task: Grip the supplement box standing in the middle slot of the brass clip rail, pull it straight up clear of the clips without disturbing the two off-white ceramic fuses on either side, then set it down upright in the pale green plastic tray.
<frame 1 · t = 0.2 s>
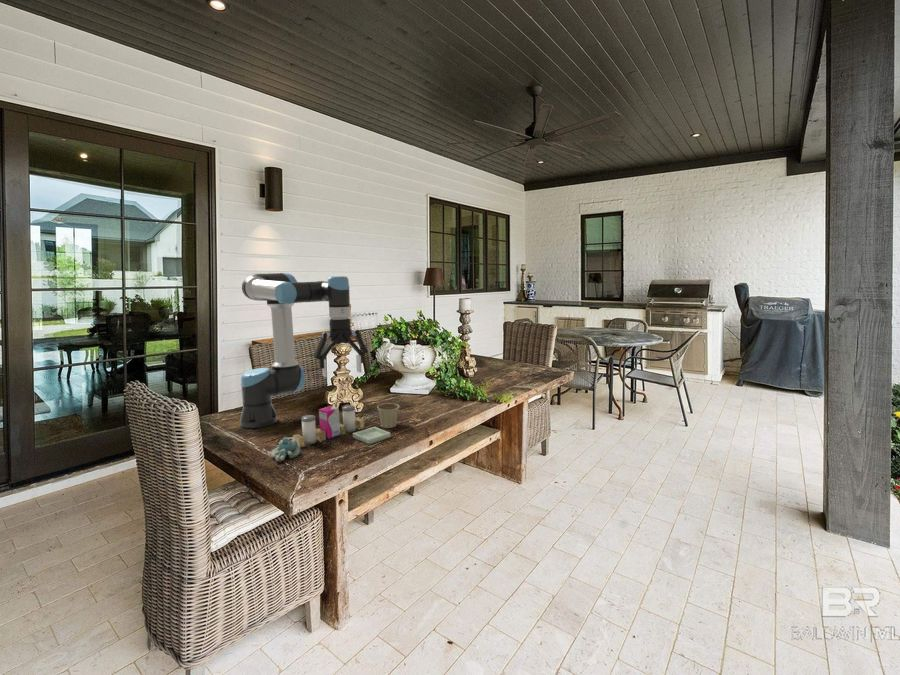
hand: (342, 374, 173), 27 cm above the table, fingers open, 13 cm apart
tray: (371, 437, 182), on the table
stuffed animal: (285, 456, 165), on the table
supplement box: (330, 436, 184), on the table
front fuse: (309, 442, 178), on the table
back fuse: (349, 430, 191), on the table
flower pot: (389, 426, 196), on the table
clip rail: (330, 435, 184), on the table
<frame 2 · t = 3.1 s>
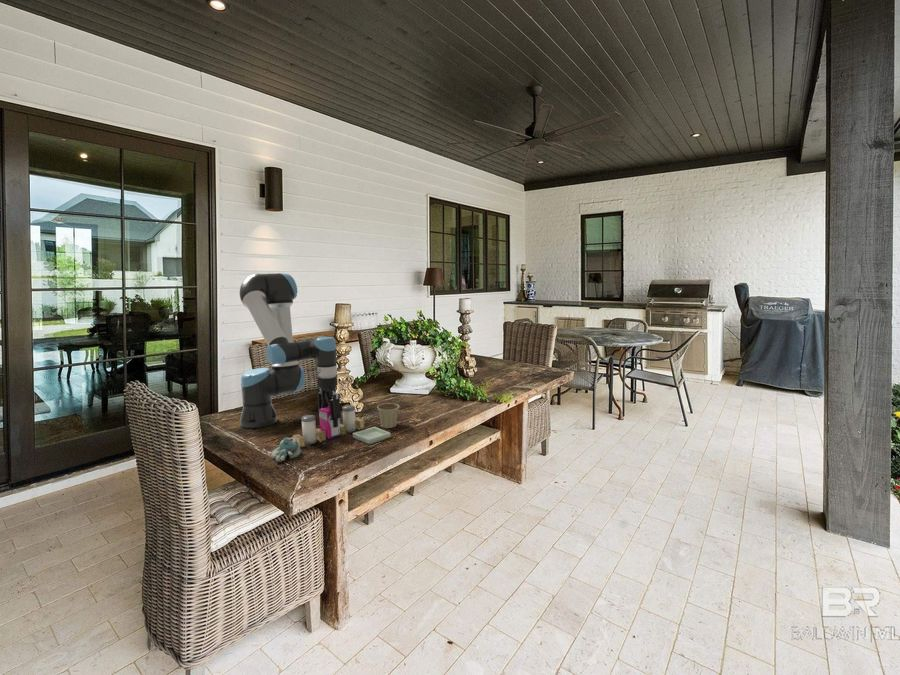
hand: (330, 432, 184), 1 cm above the table, fingers closed on supplement box, 6 cm apart
supplement box: (330, 436, 184), on the table, touching gripper
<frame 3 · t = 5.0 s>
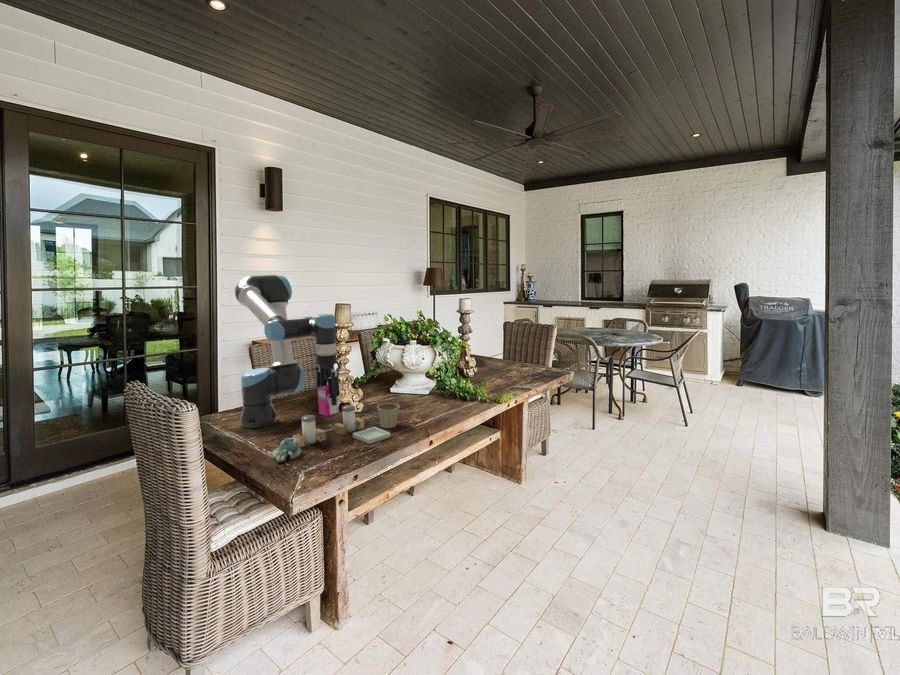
hand: (328, 410, 183), 10 cm above the table, fingers closed on supplement box, 6 cm apart
supplement box: (328, 414, 183), point 9 cm above the table, touching gripper
everything else where it was.
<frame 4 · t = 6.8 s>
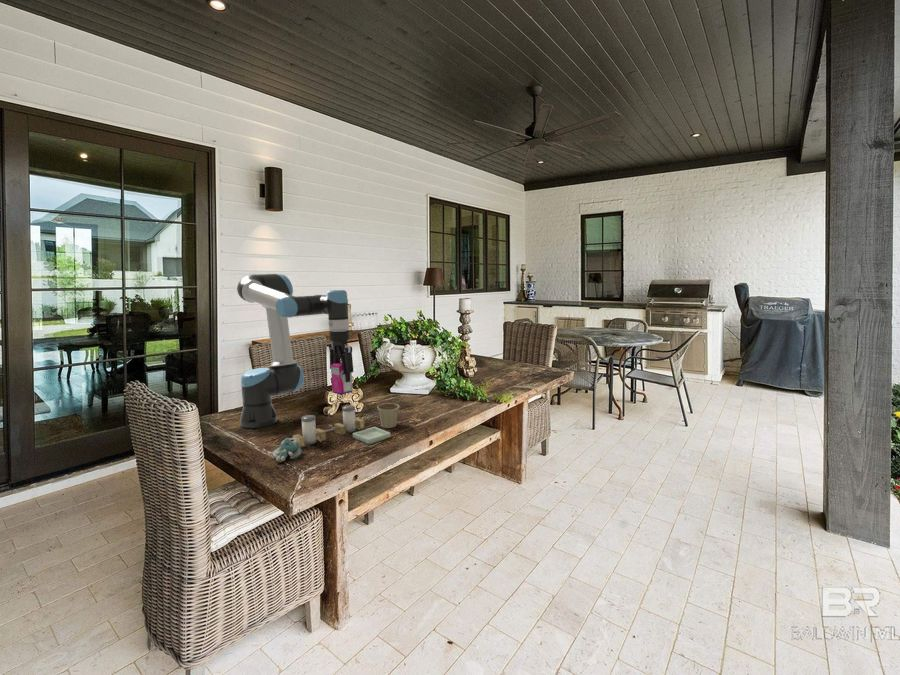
hand: (342, 388, 180), 20 cm above the table, fingers closed on supplement box, 6 cm apart
supplement box: (342, 392, 181), point 18 cm above the table, touching gripper
everything else where it was.
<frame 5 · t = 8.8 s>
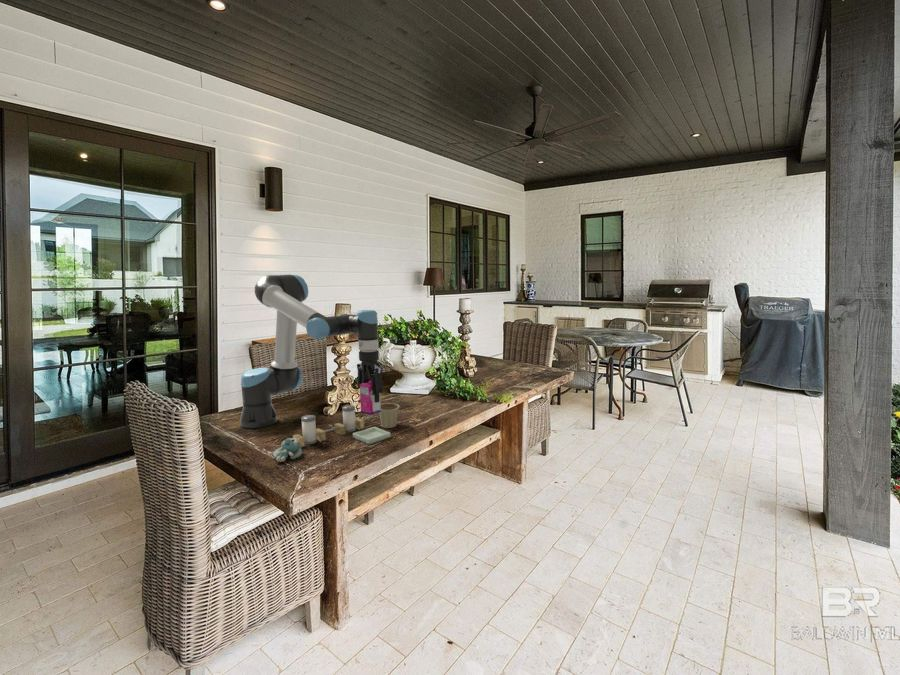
hand: (370, 408, 181), 12 cm above the table, fingers closed on supplement box, 6 cm apart
supplement box: (370, 412, 181), point 10 cm above the table, touching gripper
when the fingers open (4 cm above the table, at t = 10.6 s): supplement box drops 2 cm, resting on tray.
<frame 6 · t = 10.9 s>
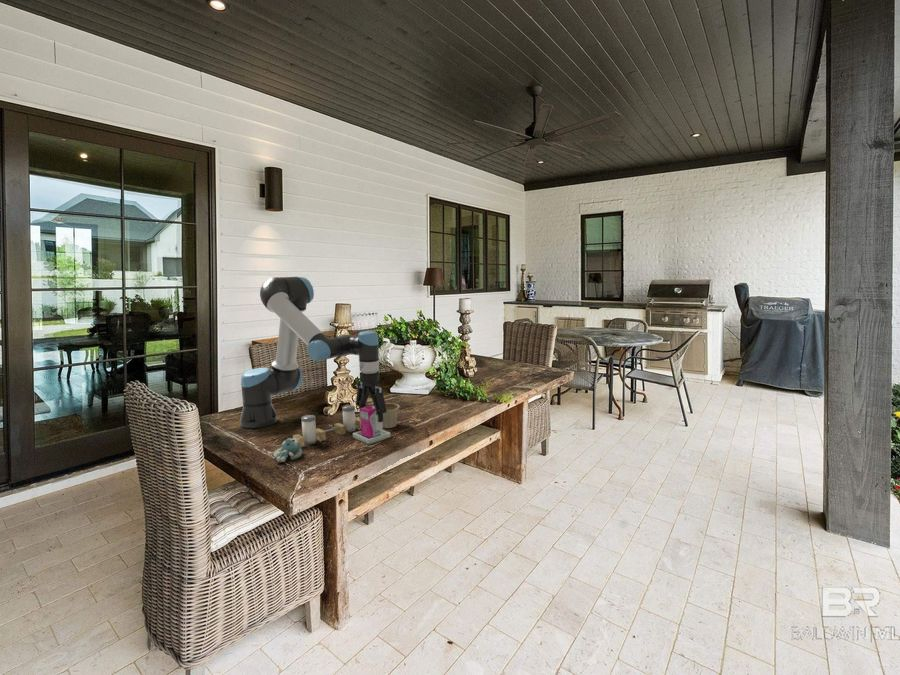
hand: (371, 426, 182), 4 cm above the table, fingers open, 10 cm apart
supplement box: (371, 436, 182), resting on tray
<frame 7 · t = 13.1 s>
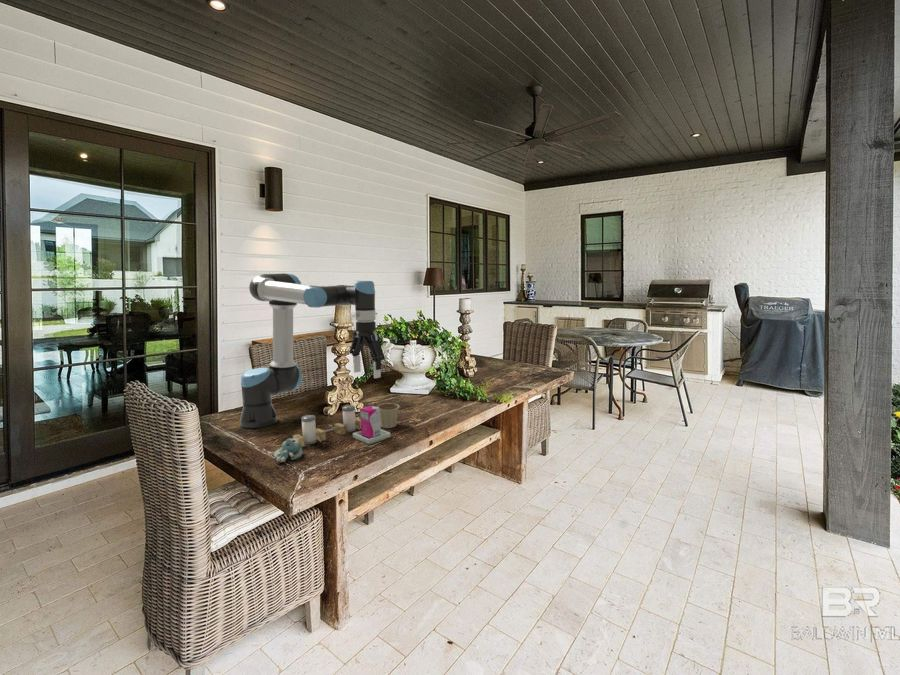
hand: (367, 374, 180), 25 cm above the table, fingers open, 13 cm apart
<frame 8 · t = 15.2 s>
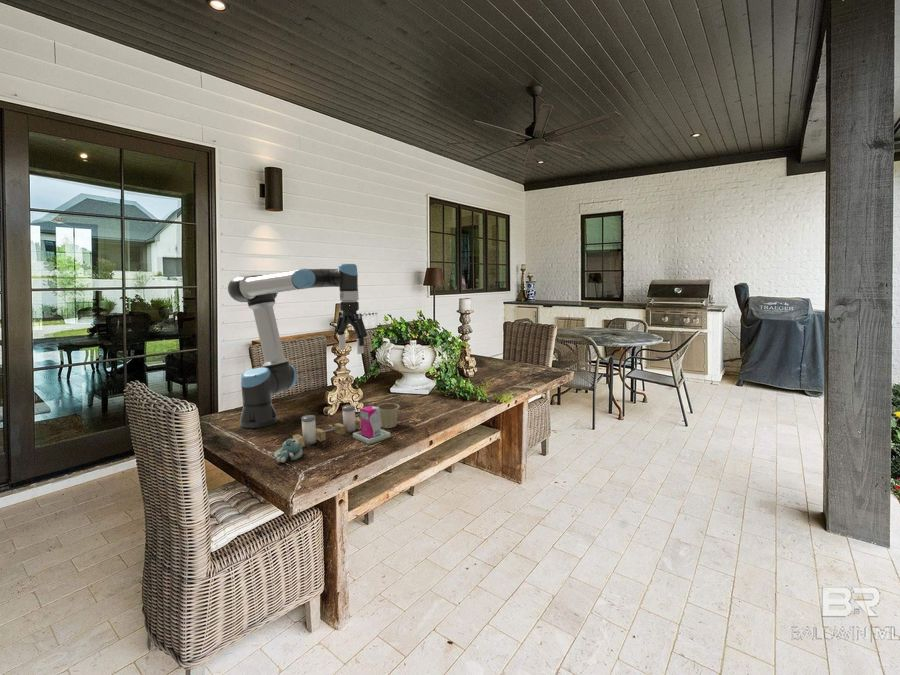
hand: (351, 351, 194), 32 cm above the table, fingers open, 13 cm apart
at the end: supplement box inside the target area on the tray (0.3 cm from its centre), point 0.4 cm above the tray's base; supplement box tilted 0°; back fuse moved 0.0 cm from its start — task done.
